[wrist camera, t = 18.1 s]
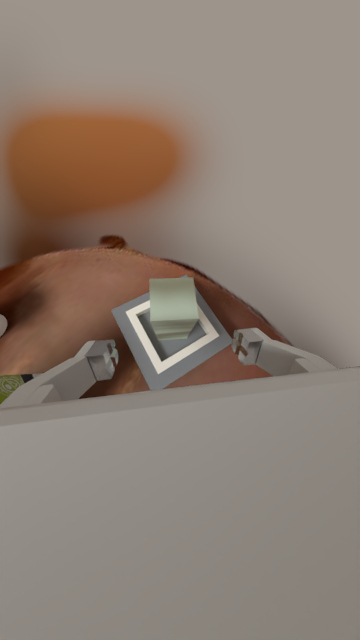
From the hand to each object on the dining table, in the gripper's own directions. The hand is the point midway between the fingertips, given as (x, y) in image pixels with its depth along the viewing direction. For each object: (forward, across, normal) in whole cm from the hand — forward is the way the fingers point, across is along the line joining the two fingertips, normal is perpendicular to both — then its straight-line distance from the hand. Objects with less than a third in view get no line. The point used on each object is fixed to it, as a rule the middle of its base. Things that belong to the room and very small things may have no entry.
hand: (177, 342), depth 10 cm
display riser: (+15, 0, +8) cm, 17 cm away
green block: (+13, 0, +6) cm, 14 cm away
